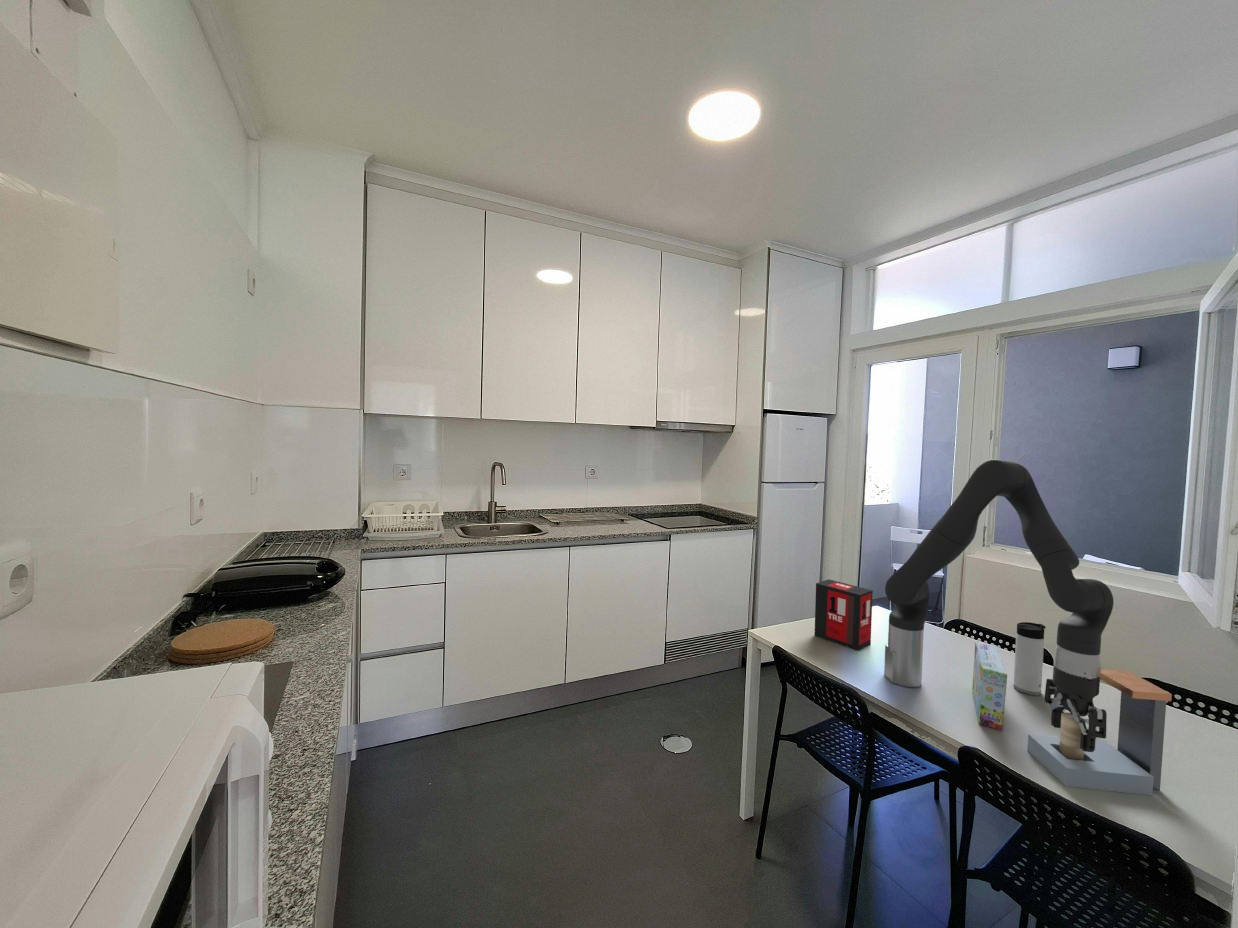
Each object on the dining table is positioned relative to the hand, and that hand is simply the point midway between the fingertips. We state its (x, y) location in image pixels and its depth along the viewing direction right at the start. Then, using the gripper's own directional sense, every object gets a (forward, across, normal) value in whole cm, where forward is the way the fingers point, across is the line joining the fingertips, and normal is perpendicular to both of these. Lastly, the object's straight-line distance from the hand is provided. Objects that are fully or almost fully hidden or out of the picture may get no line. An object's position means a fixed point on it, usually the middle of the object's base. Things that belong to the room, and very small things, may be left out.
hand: (1071, 738), depth 107 cm
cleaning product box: (+8, -65, -30) cm, 72 cm away
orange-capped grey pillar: (+7, 0, +10) cm, 12 cm away
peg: (+7, 0, 0) cm, 7 cm away
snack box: (+8, -24, -4) cm, 25 cm away
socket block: (+7, 0, +3) cm, 8 cm away
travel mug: (+8, -37, +14) cm, 40 cm away
